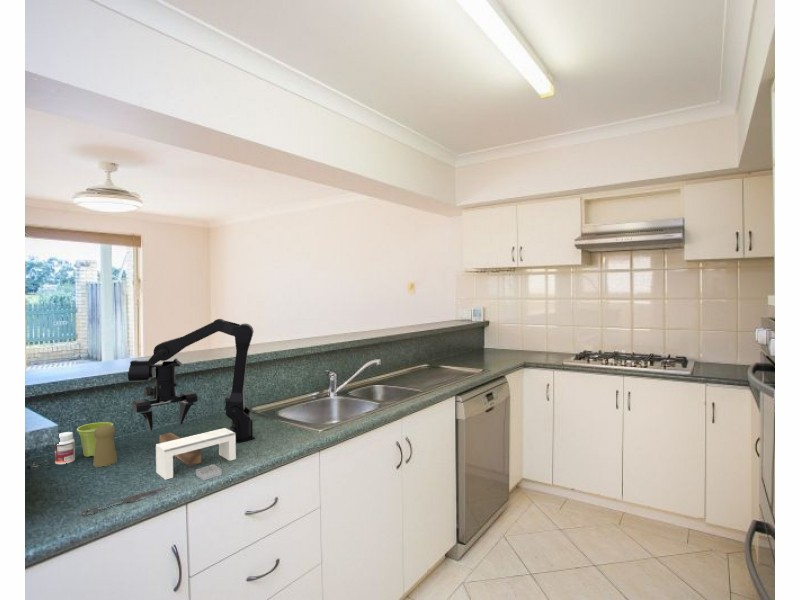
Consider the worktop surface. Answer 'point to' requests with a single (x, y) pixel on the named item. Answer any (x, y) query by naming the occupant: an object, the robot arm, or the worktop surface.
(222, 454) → the white bridge block
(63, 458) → the pill bottle
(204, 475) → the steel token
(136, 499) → the throwing knife
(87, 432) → the plant pot
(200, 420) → the worktop surface
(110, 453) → the cork
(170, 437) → the walnut bar
